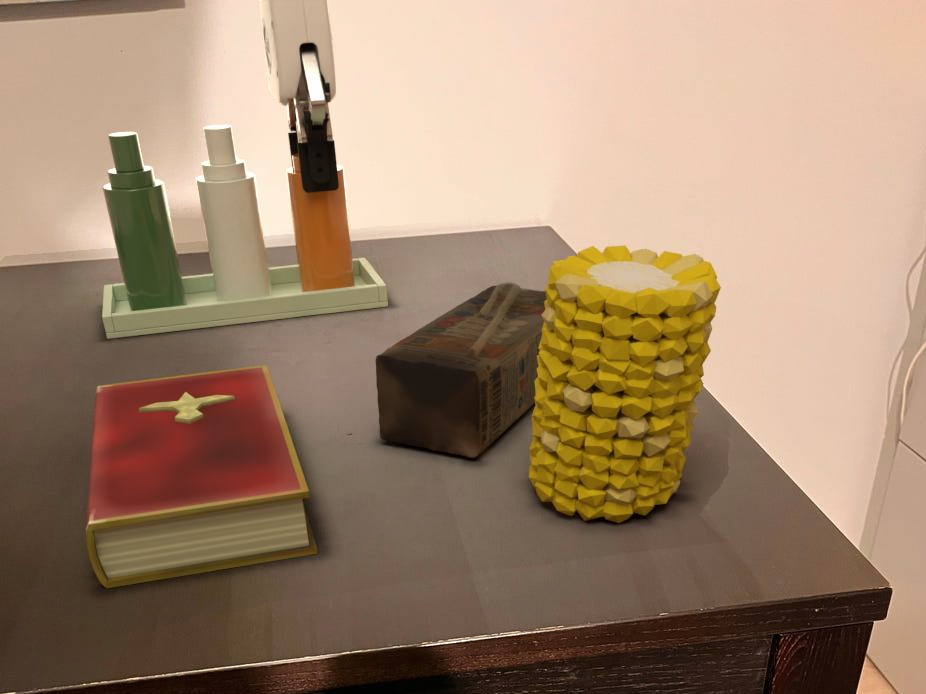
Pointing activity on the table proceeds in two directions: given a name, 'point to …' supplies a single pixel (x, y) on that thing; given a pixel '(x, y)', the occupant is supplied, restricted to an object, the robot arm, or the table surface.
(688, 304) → the food
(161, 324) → the tray
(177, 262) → the green bottle
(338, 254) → the amber bottle
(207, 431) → the hardcover book
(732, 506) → the table surface
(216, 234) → the frosted bottle
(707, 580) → the table surface
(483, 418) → the beverage carton
